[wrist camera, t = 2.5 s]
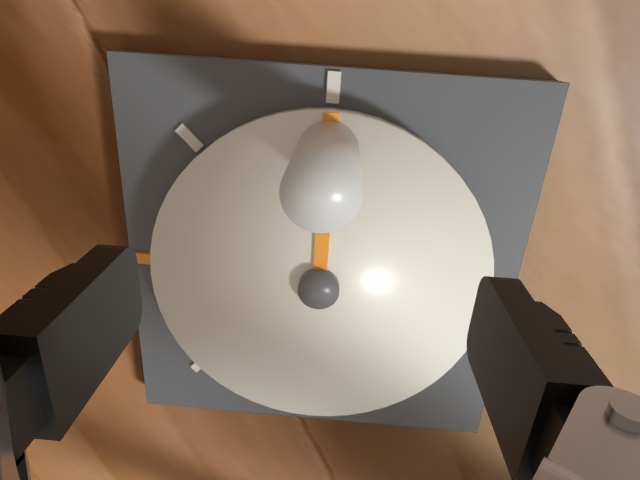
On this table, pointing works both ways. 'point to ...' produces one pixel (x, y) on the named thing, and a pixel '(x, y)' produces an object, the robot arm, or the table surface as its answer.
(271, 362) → the dial
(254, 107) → the dial plate
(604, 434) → the robot arm
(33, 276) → the table surface
